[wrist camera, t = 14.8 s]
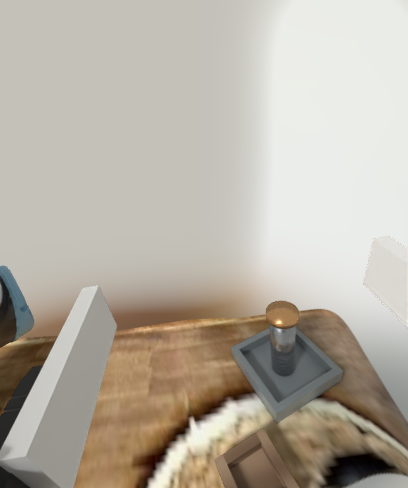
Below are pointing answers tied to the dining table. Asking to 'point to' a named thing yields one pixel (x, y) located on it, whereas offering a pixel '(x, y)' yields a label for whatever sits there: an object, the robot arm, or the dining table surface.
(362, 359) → the dining table surface
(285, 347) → the pin
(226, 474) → the socket block
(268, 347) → the tray
